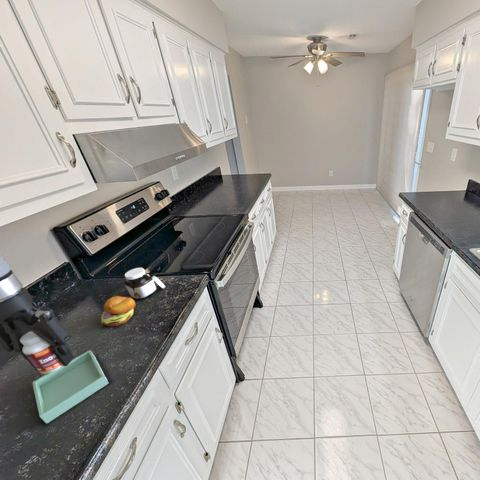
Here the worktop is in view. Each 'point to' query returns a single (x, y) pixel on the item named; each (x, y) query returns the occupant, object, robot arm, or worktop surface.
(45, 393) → the tray
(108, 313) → the cheeseburger
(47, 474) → the worktop surface
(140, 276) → the spread jar
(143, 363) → the worktop surface
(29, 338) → the pill bottle
